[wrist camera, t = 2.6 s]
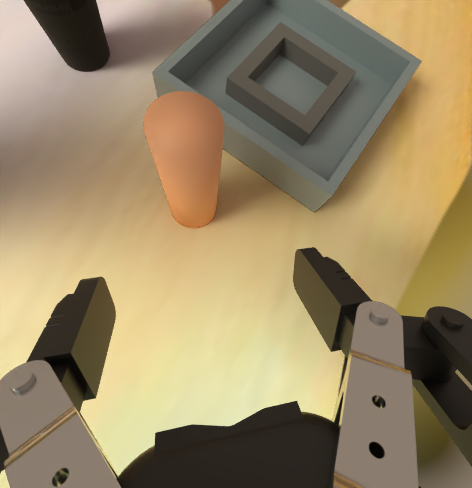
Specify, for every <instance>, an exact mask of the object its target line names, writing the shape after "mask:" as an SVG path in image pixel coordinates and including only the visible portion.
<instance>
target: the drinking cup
mask: <svg viewBox="0 0 472 488" xmlns="http://www.w3.org/2000/svg"><path fill="white" fill-rule="evenodd" d="M24 2H25V3H26V5H27V6H28V7H29V9H30V10H31V12H32V13H33V15H34V16H35V18H36V19H37V21H38V22H39V24H40V25H41V27H42V28H43V30H44V31H45V33H46V34H47V36H48V37H49V39H50V40H51V42H52V43H53V44H54V46H55V47H56V49H57V50H58V52H59V53H60V55H61V56H62V58H63V59H64V61H65V62H66V63H67V64H68V65H69V66H70V67H71V68H73V69H76V70H79V71H94V70H97V69H99V68H101V67H102V66H104V65H105V64H106V62H107V61H108V59H109V48H108V44H107V40H106V36H105V33H104V29H103V25H102V21H101V18H100V14H99V10H98V6H97V3H96V0H24Z"/></svg>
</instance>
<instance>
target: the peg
mask: <svg viewBox="0 0 472 488" xmlns="http://www.w3.org/2000/svg"><path fill="white" fill-rule="evenodd" d="M143 127H144V132H145V135H146V138H147V141H148V144H149V147H150V150H151V153H152V156H153V159H154V162H155V165H156V168H157V171H158V174H159V177H160V180H161V183H162V185H163V188H164V191H165V194H166V197H167V200H168V203H169V206H170V209H171V212H172V215H173V217H174V218H175V220H176V221H177V222H178V223H179V224H181V225H182V226H185V227H188V228H200V227H203V226H205V225H207V224H208V223H209V222H210V221H211V220H212V219H213V218H214V216H215V213H216V207H217V197H218V187H219V177H220V167H221V157H222V147H223V138H224V120H223V116H222V114H221V112H220V110H219V109H218V107H217V106H216V105H215V104H214V103H213V102H212V101H211V100H209V99H208V98H206V97H204V96H202V95H200V94H197V93H194V92H188V91H176V92H171V93H168V94H165V95H163V96H161V97H159V98H158V99H156V100H155V101H154V102H153V103H152V104H151V105H150V106H149V108H148V109H147V111H146V113H145V116H144V122H143Z"/></svg>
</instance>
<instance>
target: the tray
mask: <svg viewBox="0 0 472 488" xmlns="http://www.w3.org/2000/svg"><path fill="white" fill-rule="evenodd" d="M421 62H422V61H421V60H419V59H418V58H416V57H415V56H413V55H412V54H410V53H409V52H407V51H405V50H404V49H402V48H401V47H399V46H398V45H396V44H394V43H393V42H391V41H390V40H388V39H387V38H385V37H384V36H382V35H380V34H379V33H377V32H376V31H374V30H373V29H371V28H370V27H368V26H366V25H365V24H363V23H362V22H360V21H359V20H357V19H355V18H354V17H352V16H351V15H349V14H348V13H346V12H345V11H343V10H341V9H340V8H338V7H337V6H335V5H334V4H332V3H331V2H329V1H327V0H230V1H229V2H228V3H227V4H226V5H225V6H224V7H223V8H222V9H220V10H219V11H218V12H217V13H216V14H215V15H214V16H213V17H212V18H211V19H210V20H208V21H207V22H206V23H205V24H204V25H203V26H202V27H201V28H200V29H199V30H198V31H196V32H195V33H194V34H193V35H192V36H191V37H190V38H189V39H188V40H187V41H186V42H185V43H183V44H182V45H181V46H180V47H179V48H178V49H177V50H176V51H175V52H174V53H173V54H171V55H170V56H169V57H168V58H167V59H166V60H165V61H164V62H163V63H162V64H161V65H160V66H158V67H157V68H156V69H155V70H154V71H153V72H152V73H153V78H154V82H155V87H156V91H157V96H158V98H159V97H161V96H163V95H165V94H168V93H171V92H176V91H188V92H194V93H197V94H200V95H202V96H204V97H206V98H208V99H209V100H211V101H212V102H213V103H214V104H215V105H216V106H217V107H218V109H219V110H220V112H221V114H222V116H223V120H224V138H223V147H222V148H223V149H224V150H225V151H227V152H228V153H230V154H231V155H233V156H234V157H235V158H237V159H238V160H240V161H241V162H243V163H244V164H245V165H247V166H248V167H250V168H251V169H253V170H254V171H255V172H257V173H258V174H260V175H261V176H263V177H264V178H265V179H267V180H268V181H270V182H271V183H273V184H274V185H275V186H277V187H278V188H280V189H281V190H283V191H284V192H286V193H287V194H288V195H290V196H291V197H293V198H294V199H296V200H297V201H298V202H300V203H301V204H303V205H304V206H306V207H307V208H308V209H310V210H311V211H313V212H316V211H317V210H318V209H319V208H320V207H321V206H322V205H323V204H324V203H325V202H326V201H327V200H328V199H330V198H331V197H332V195H333V194H334V192H335V191H336V189H337V188H338V186H339V185H340V183H341V182H342V180H343V179H344V177H345V176H346V174H347V173H348V171H349V170H350V168H351V167H352V165H353V164H354V162H355V161H356V159H357V158H358V156H359V155H360V153H361V152H362V150H363V149H364V147H365V146H366V144H367V143H368V141H369V140H370V138H371V137H372V135H373V134H374V132H375V131H376V129H377V128H378V126H379V125H380V123H381V122H382V120H383V119H384V117H385V116H386V114H387V113H388V111H389V110H390V108H391V107H392V105H393V104H394V102H395V101H396V99H397V98H398V96H399V95H400V93H401V92H402V90H403V89H404V87H405V86H406V84H407V83H408V81H409V80H410V78H411V77H412V75H413V74H414V72H415V71H416V69H417V68H418V66H419V65H420V63H421Z"/></svg>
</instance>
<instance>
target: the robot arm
mask: <svg viewBox="0 0 472 488" xmlns="http://www.w3.org/2000/svg"><path fill="white" fill-rule="evenodd" d="M293 283H294V287H295V290H296V292H297V294H298V296H299V297H300V299H301V301H302V303H303V304H304V306H305V308H306V309H307V311H308V313H309V315H310V316H311V318H312V320H313V322H314V323H315V325H316V327H317V328H318V330H319V332H320V334H321V335H322V337H323V339H324V341H325V342H326V344H327V346H328V347H329V349H330V351H331V352H332V351H337V350H342V351H343V353H344V355H345V356H344V360H343V366H342V371H341V377H340V383H339V388H338V394H337V400H336V405H335V410H334V414H333V419H332V421H331V420H329V419H327V418H324V417H322V416H319V415H316V414H312V413H307V412H301V411H300V408H299V405H298V403H297V401H294V402H290V403H285V404H281V405H276V406H272V407H268V408H264V409H262V410H260V411H258V412H256V413H255V414H253V415H251V416H249V417H247V418H245V419H244V420H242V421H240V422H238V423H236V424H235V425H232V426H209V425H188V426H183V427H179V428H175V429H170V430H166V431H161V432H157V433H155V446H153V447H151V448H149V449H148V450H146V451H145V452H143V453H142V454H141V455H139V456H138V457H137V458H136V459H135V460H133V461H132V462H131V463H130V464H129V465H128V466H127V467H126V468H125V469H124V470H123V472H122V473H121V474H120V475H119V476H118V474H117V473H116V471H115V470H114V468H113V466H112V465H111V463H110V461H109V460H108V458H107V457H106V455H105V453H104V452H103V450H102V448H101V447H100V445H99V443H98V442H97V440H96V438H95V437H94V435H93V433H92V431H91V430H90V428H89V426H88V425H87V423H86V421H85V420H84V418H83V416H82V415H81V413H80V410H81V406H82V403H83V401H84V400H89V399H94V398H96V396H97V392H98V388H99V384H100V380H101V376H102V372H103V368H104V363H105V359H106V355H107V351H108V347H109V343H110V339H111V335H112V331H113V327H114V323H115V318H116V312H115V306H114V303H113V300H112V298H111V295H110V292H109V289H108V287H107V284H106V281H105V279H104V278H103V277H96V278H89V279H82V280H80V282H79V284H78V286H77V288H76V290H75V292H74V294H68V295H67V296H66V297H64V298H63V299H62V300H61V301H60V302H59V303H58V304H57V305H56V307H55V309H54V311H53V313H52V315H51V318H50V319H49V320H48V322H47V324H46V327H45V328H44V330H43V332H42V334H41V336H40V337H39V339H38V341H37V343H36V345H35V347H34V349H33V351H32V353H31V355H30V356H29V358H28V360H27V362H26V363H24V364H22V365H20V366H18V367H16V368H14V369H13V370H11V371H10V372H9V373H7V374H6V375H5V376H4V377H3V378H2V379H1V380H0V473H1V471H2V470H4V469H5V472H6V475H7V479H8V482H9V485H10V488H421V487H420V486H418V474H417V456H416V439H415V422H414V405H413V388H412V384H413V385H414V387H415V388H416V390H417V391H418V392H419V394H420V395H421V397H422V398H423V399H424V401H425V402H426V404H427V405H428V406H429V408H430V409H431V410H432V412H433V413H434V415H435V416H436V417H437V419H438V420H439V422H440V423H441V424H442V426H443V427H444V429H445V430H446V431H447V433H448V434H449V435H450V437H451V438H452V440H453V441H454V443H455V444H456V445H457V447H458V448H459V449H460V451H461V452H462V454H463V455H464V456H465V458H466V459H467V460H468V462H469V463H470V465H471V466H472V391H471V390H470V389H469V388H468V386H467V385H466V384H465V383H464V382H463V381H462V380H461V379H460V377H459V376H458V375H457V374H456V373H455V371H456V370H457V369H458V370H459V371H460V373H461V374H462V375H463V376H464V377H465V378H466V379H467V380H468V381H469V382H470V383H471V385H472V319H471V318H469V317H468V316H467V315H465V314H463V313H461V312H459V311H457V310H454V309H451V308H448V307H433V308H430V309H429V310H428V311H427V313H426V316H425V318H424V317H412V316H411V317H410V316H401V315H400V314H399V313H398V312H397V311H396V310H395V309H393V308H392V307H390V306H388V305H386V304H384V303H380V302H375V301H372V300H371V299H370V298H369V297H368V296H367V295H366V293H365V292H364V291H363V290H362V289H361V288H360V287H359V286H358V285H357V283H356V282H355V281H354V280H353V279H351V277H350V276H349V275H348V273H347V272H345V270H344V269H343V268H342V267H341V266H340V265H339V263H337V262H336V261H334V260H332V259H330V258H329V257H323V256H322V255H321V254H320V253H319V252H318V250H317V249H316V248H314V247H312V248H305V249H298V250H297V251H296V253H295V263H294V274H293Z"/></svg>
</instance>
